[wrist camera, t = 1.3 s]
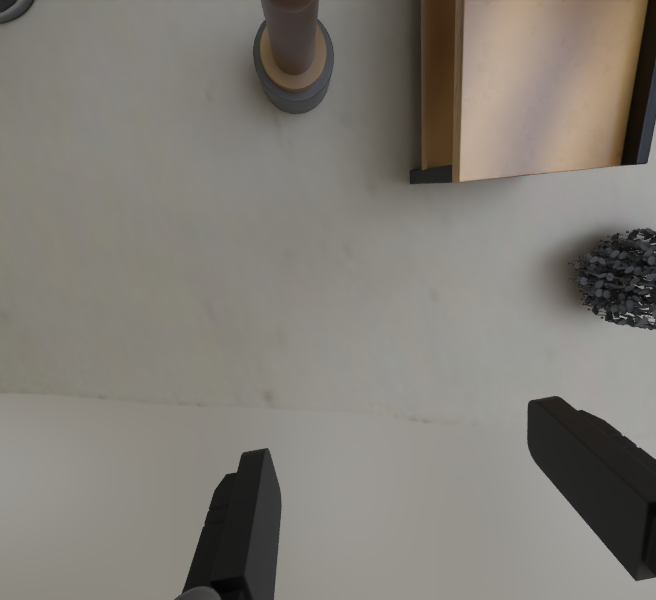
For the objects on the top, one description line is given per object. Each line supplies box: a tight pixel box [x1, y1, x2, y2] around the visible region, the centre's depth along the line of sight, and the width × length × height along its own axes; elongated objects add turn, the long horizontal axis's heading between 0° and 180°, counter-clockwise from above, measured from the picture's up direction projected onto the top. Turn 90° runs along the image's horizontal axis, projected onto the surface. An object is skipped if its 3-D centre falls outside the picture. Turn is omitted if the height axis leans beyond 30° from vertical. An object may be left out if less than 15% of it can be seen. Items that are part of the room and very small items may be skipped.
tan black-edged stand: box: [410, 0, 656, 184], centre depth 25 cm, size 12×18×12 cm, turn 5°
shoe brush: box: [253, 0, 334, 114], centre depth 22 cm, size 6×6×17 cm
